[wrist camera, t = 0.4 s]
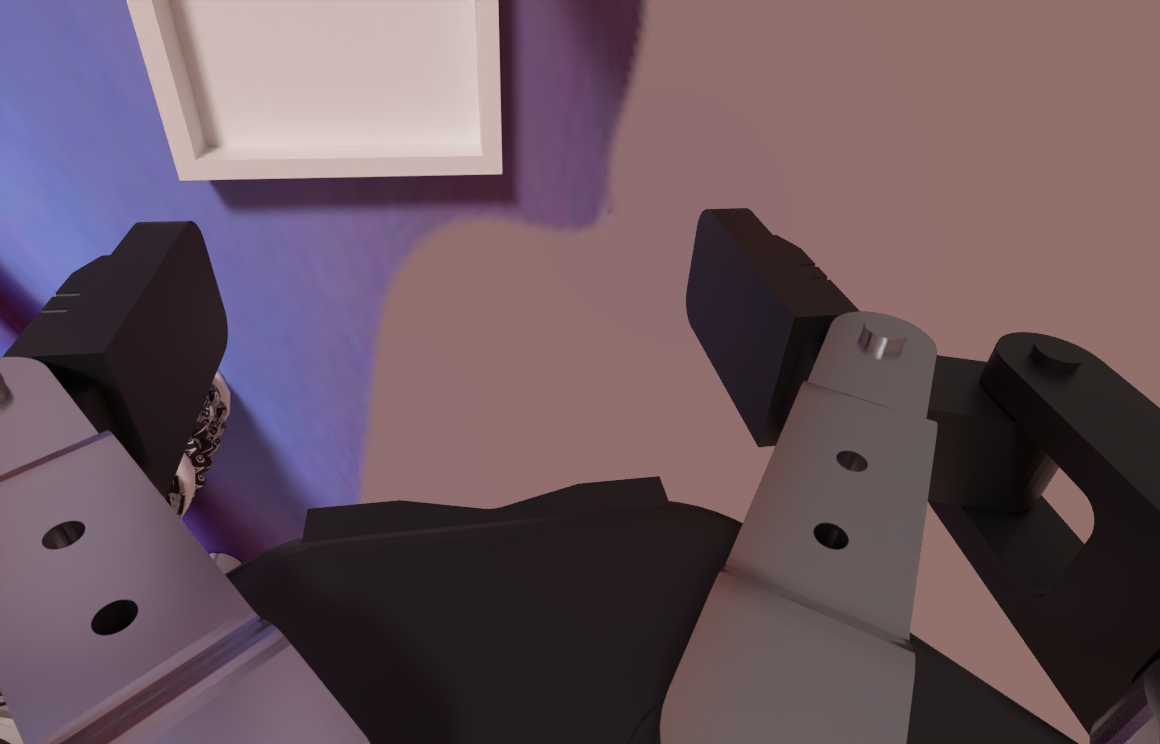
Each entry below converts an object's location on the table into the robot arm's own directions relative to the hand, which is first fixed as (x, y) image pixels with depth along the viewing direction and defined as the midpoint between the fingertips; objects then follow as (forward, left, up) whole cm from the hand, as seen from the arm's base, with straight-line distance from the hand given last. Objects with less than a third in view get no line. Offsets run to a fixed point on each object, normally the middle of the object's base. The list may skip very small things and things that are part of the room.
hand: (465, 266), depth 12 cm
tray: (-1, -5, -29) cm, 29 cm away
